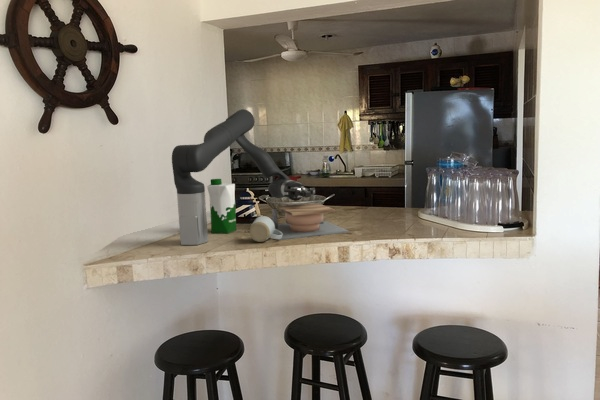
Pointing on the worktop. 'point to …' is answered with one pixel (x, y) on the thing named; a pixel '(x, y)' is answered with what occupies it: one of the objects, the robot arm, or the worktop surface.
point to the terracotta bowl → (304, 222)
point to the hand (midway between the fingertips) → (307, 194)
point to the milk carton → (222, 206)
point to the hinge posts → (275, 220)
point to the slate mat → (324, 230)
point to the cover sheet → (305, 209)
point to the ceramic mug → (264, 229)
